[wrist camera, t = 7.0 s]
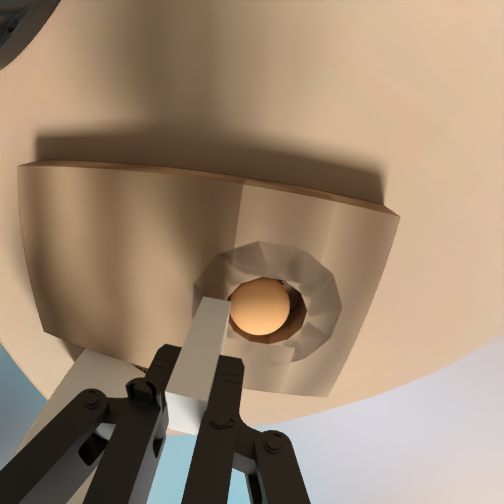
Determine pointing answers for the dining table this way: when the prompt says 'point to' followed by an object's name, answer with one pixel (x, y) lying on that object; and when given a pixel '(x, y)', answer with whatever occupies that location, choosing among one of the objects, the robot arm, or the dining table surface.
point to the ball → (259, 306)
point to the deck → (199, 263)
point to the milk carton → (76, 380)
